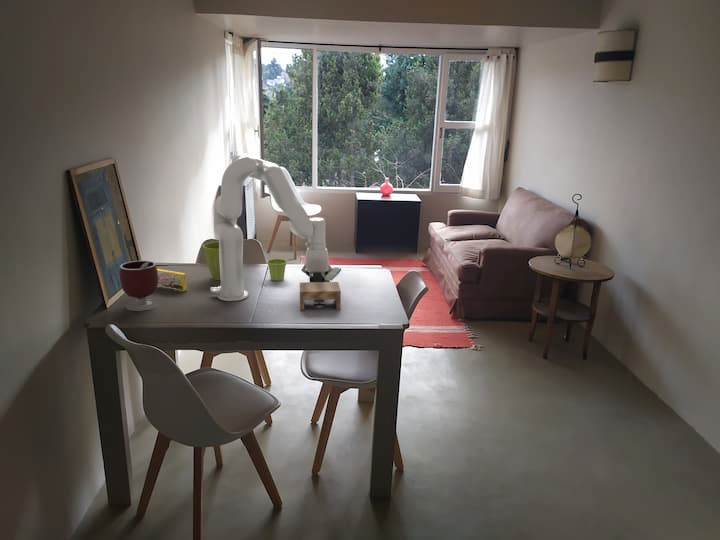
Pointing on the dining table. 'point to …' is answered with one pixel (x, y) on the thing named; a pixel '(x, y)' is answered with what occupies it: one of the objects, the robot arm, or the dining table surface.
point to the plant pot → (277, 268)
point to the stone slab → (332, 274)
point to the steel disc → (319, 304)
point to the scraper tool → (317, 279)
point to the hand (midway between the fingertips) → (317, 284)
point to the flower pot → (212, 258)
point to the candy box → (171, 279)
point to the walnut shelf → (320, 292)
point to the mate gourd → (139, 280)
